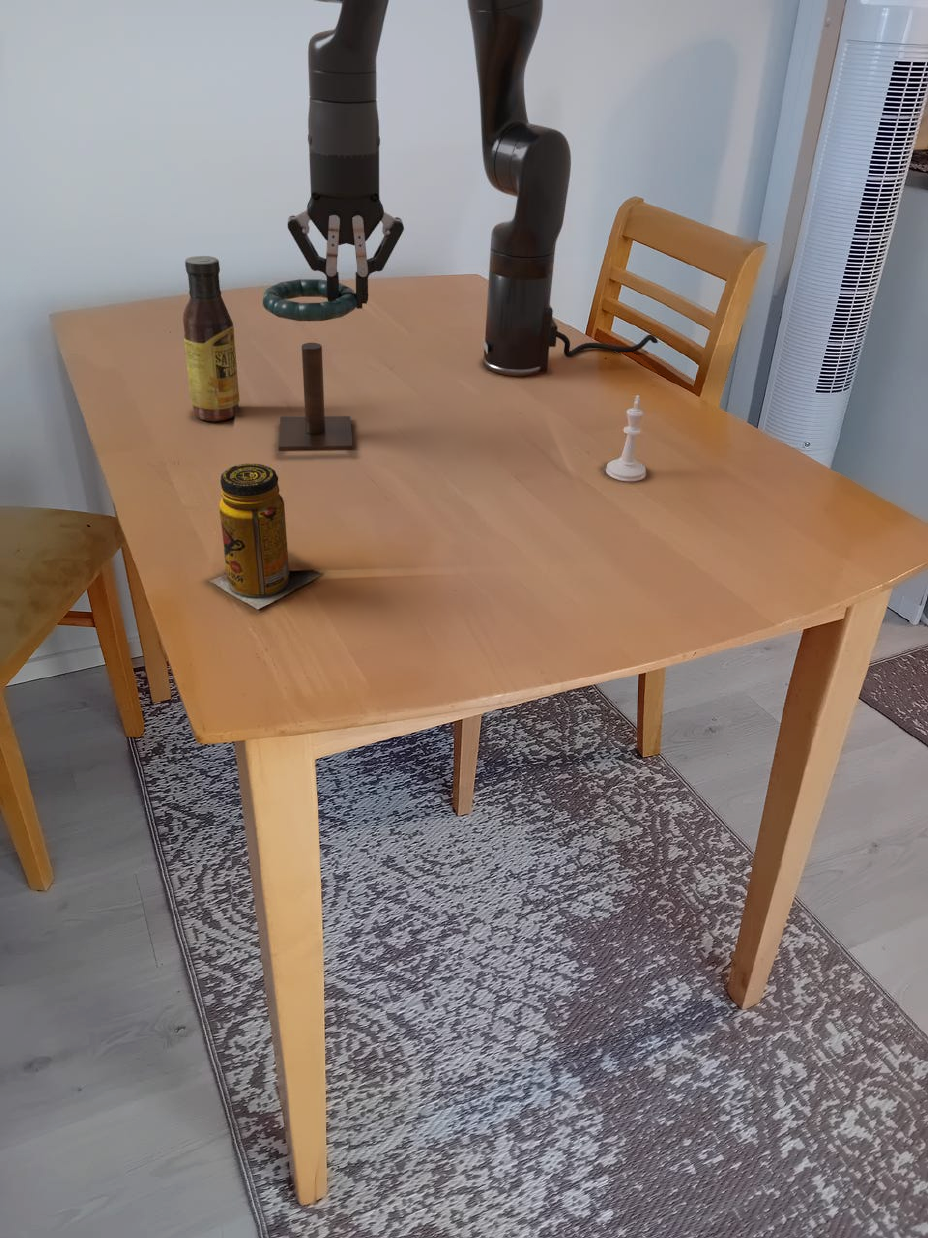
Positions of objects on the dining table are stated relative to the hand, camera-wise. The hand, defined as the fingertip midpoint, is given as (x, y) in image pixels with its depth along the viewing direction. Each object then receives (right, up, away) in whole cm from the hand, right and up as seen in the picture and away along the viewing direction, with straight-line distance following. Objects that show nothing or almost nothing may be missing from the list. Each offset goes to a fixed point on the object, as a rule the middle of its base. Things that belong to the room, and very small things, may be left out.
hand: (347, 305), depth 115 cm
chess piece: (+34, -19, +6) cm, 39 cm away
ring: (-4, 0, -1) cm, 4 cm away
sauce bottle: (-19, -10, +15) cm, 26 cm away
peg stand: (-5, -14, +9) cm, 18 cm away
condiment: (-6, -33, -17) cm, 38 cm away
